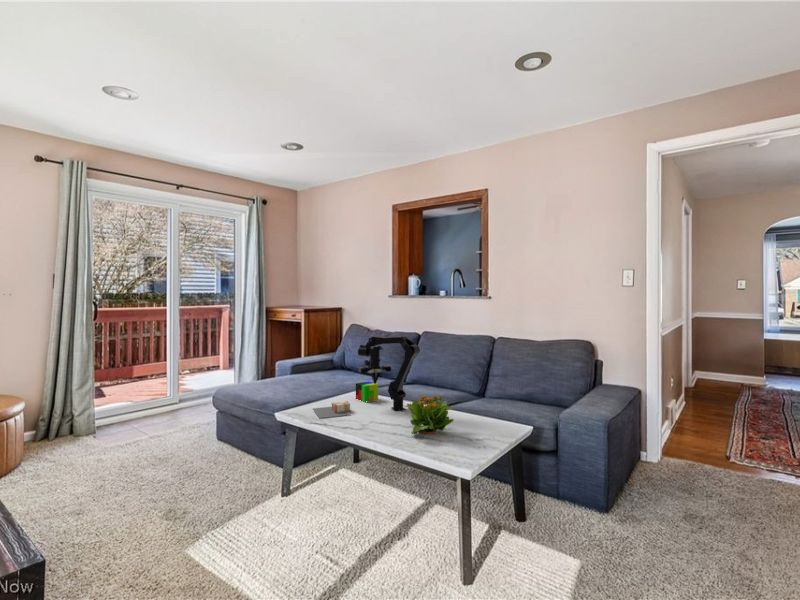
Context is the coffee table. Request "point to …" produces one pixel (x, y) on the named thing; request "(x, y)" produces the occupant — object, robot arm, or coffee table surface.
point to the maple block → (340, 406)
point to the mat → (329, 412)
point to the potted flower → (429, 415)
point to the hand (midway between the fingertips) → (374, 383)
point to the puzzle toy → (366, 391)
